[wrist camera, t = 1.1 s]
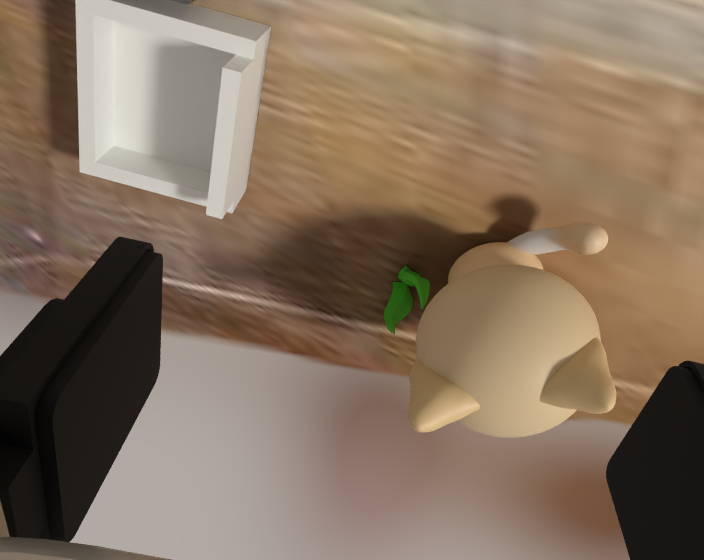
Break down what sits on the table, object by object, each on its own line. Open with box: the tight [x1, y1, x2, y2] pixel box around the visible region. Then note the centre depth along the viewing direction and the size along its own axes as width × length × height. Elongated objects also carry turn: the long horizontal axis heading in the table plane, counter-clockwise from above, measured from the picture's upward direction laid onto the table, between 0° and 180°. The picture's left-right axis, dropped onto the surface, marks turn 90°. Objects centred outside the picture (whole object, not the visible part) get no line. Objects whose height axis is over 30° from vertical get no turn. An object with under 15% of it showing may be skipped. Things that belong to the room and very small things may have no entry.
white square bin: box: [75, 0, 271, 219], centre depth 37 cm, size 11×10×6 cm
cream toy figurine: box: [384, 222, 616, 437], centre depth 38 cm, size 15×10×15 cm
